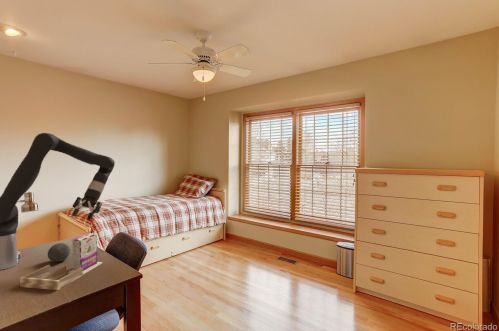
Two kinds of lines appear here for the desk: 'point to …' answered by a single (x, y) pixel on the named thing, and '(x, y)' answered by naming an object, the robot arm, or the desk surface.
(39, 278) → the lane rack
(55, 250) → the decorative ball
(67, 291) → the desk surface
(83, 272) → the sage mat
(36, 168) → the robot arm
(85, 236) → the candy bar box
